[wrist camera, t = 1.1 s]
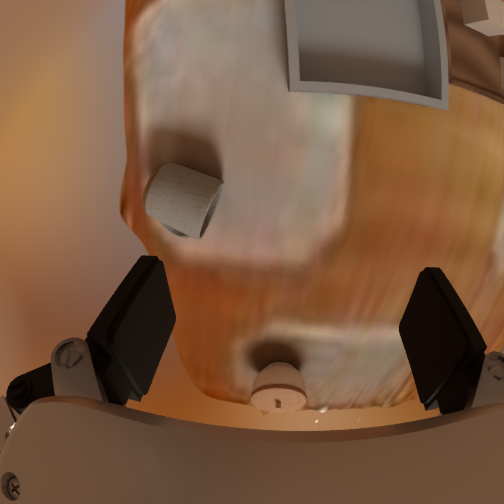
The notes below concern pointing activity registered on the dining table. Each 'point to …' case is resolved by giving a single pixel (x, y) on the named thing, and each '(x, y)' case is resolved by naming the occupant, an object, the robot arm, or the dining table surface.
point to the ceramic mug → (182, 199)
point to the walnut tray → (472, 55)
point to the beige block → (484, 16)
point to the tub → (368, 49)
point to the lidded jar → (279, 389)
